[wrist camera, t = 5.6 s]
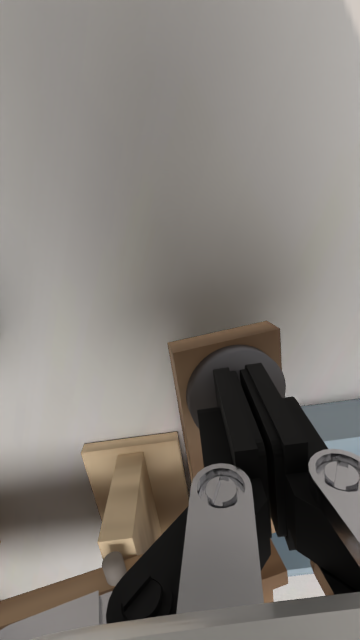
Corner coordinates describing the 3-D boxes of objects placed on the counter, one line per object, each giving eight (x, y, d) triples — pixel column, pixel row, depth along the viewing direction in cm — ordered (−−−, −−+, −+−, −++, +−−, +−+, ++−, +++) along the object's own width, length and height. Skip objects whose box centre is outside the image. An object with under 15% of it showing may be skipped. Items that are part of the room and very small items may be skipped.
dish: (228, 412, 20) (239, 452, 17) (390, 390, 20) (434, 427, 16) (241, 528, 23) (253, 580, 20) (380, 511, 23) (415, 561, 19)
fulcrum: (84, 444, 20) (46, 540, 14) (177, 431, 20) (178, 524, 14) (114, 543, 23) (93, 657, 17) (195, 533, 23) (202, 645, 17)
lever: (-418, 472, 9) (-619, 567, 6) (266, 320, 12) (306, 344, 10) (-138, 758, 14) (-188, 868, 12) (282, 598, 18) (310, 658, 15)
